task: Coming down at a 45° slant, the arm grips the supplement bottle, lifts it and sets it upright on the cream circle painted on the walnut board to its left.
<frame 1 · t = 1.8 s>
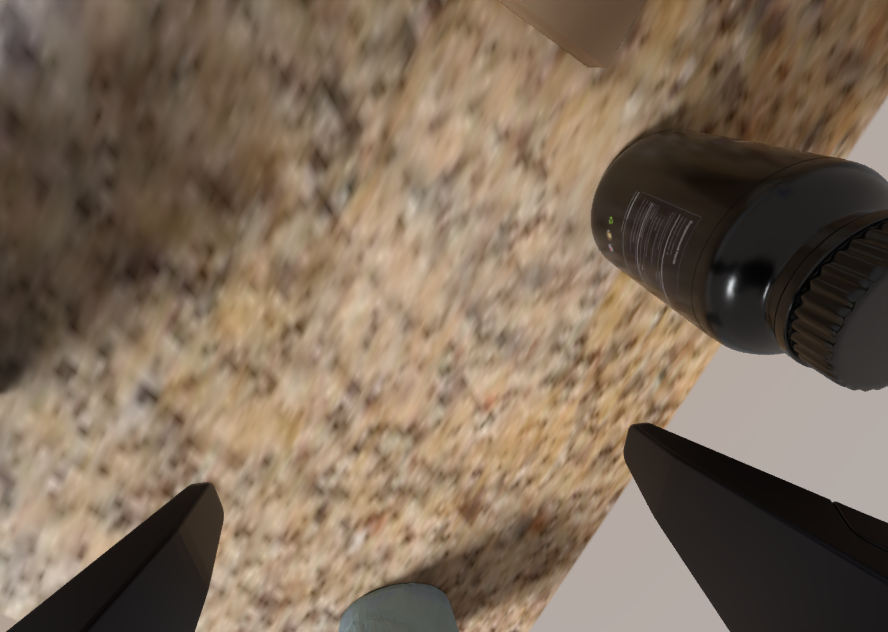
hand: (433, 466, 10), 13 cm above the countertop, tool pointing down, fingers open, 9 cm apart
supplement bottle: (647, 200, 22), on the countertop
drinking glass: (398, 613, 35), on the countertop
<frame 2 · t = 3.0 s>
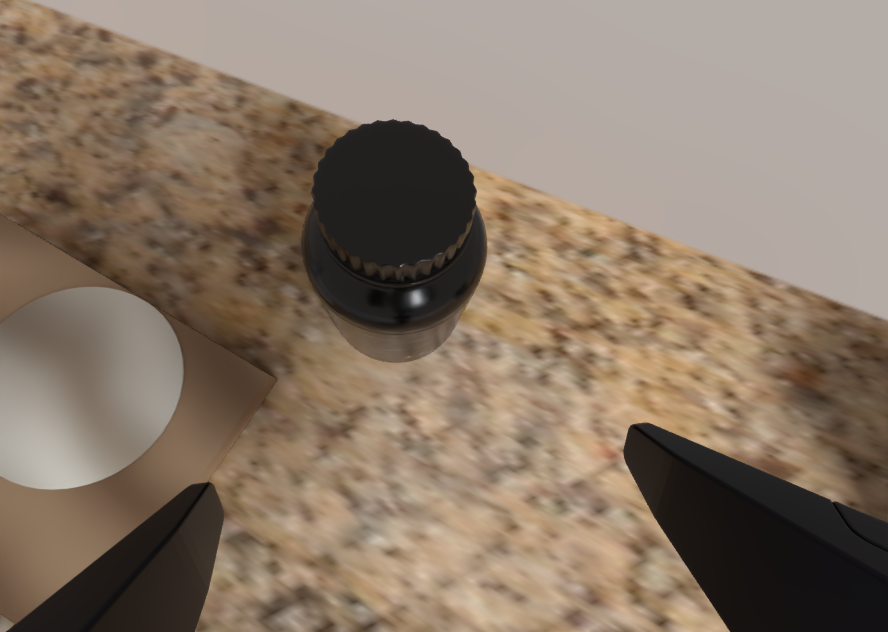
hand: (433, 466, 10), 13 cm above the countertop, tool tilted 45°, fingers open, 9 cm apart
walnut board: (52, 412, 21), on the countertop
supplement bottle: (396, 304, 25), on the countertop
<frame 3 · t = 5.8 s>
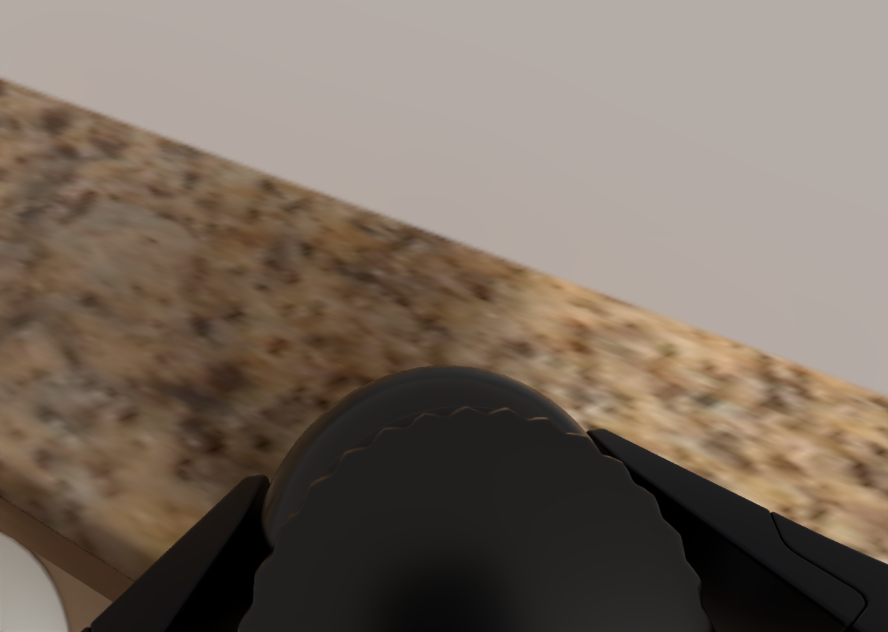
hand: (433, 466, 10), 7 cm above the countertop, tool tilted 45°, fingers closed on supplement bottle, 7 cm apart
supplement bottle: (424, 498, 16), on the countertop, touching gripper
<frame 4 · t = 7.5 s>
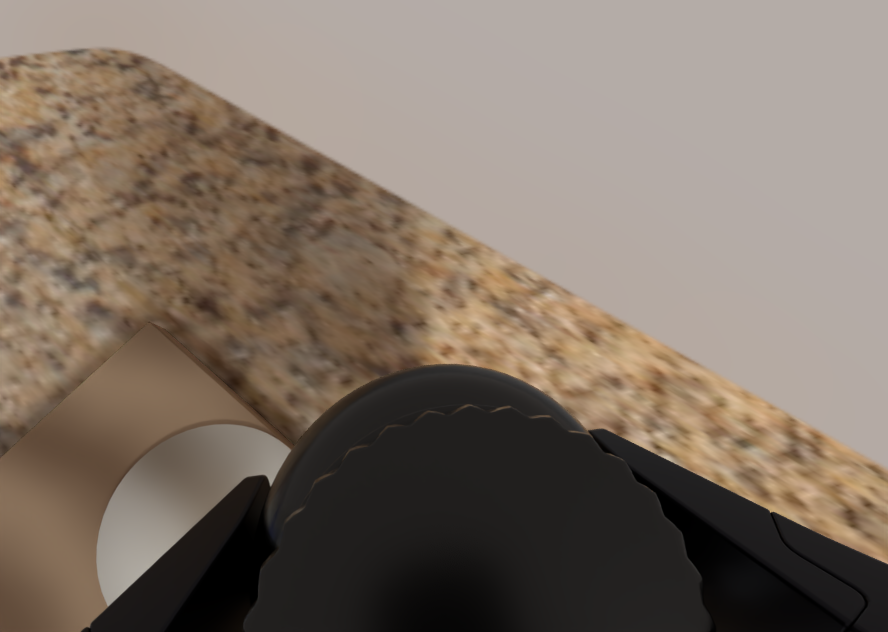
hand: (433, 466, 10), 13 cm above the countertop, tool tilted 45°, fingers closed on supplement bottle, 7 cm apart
walnut board: (176, 548, 20), on the countertop
supplement bottle: (425, 497, 16), point 6 cm above the countertop, touching gripper
when the fingers open (9 cm above the countertop, at t = 9.3 s): supplement bottle stays where it is, resting on walnut board.
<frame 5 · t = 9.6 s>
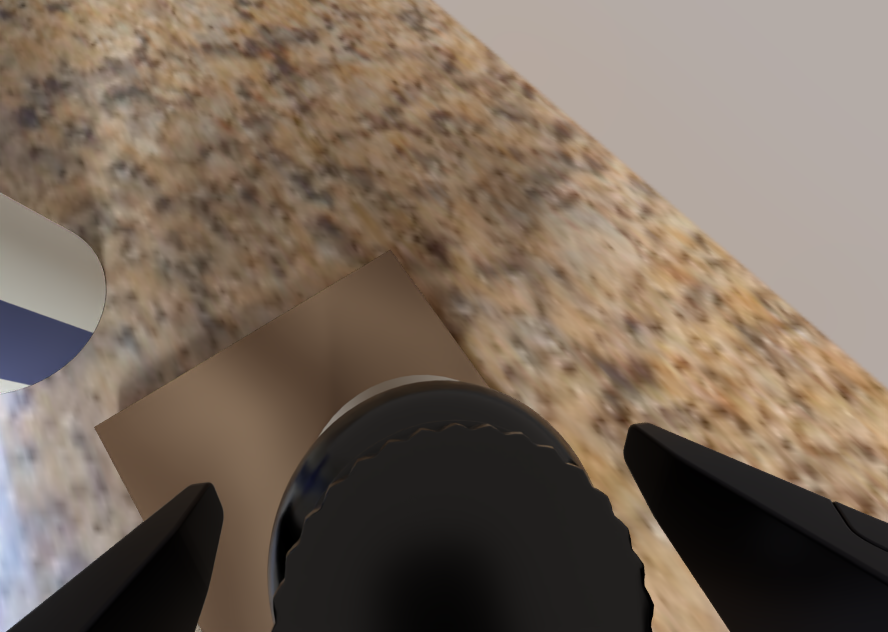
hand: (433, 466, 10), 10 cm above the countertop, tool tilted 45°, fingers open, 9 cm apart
walnut board: (366, 499, 18), on the countertop
supplement bottle: (423, 498, 17), point 1 cm above the countertop, touching walnut board
water bottle: (11, 310, 19), on the countertop
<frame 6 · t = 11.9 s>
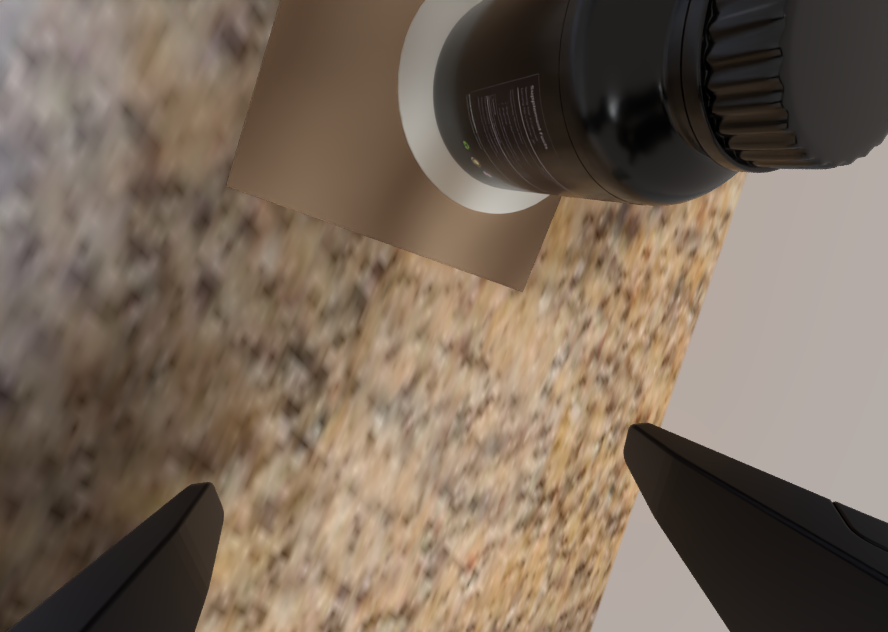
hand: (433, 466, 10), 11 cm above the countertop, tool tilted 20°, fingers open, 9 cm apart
walnut board: (455, 54, 18), on the countertop
supplement bottle: (501, 101, 18), point 1 cm above the countertop, touching walnut board
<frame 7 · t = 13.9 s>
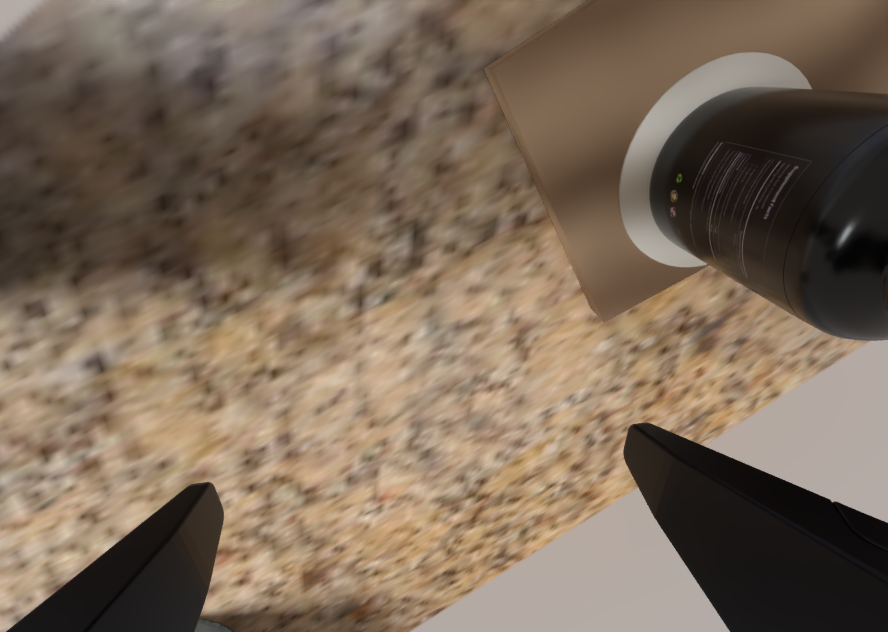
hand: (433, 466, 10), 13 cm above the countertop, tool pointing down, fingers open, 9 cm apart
walnut board: (705, 111, 20), on the countertop
supplement bottle: (713, 171, 20), point 1 cm above the countertop, touching walnut board
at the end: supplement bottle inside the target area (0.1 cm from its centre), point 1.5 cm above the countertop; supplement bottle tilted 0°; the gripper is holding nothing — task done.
